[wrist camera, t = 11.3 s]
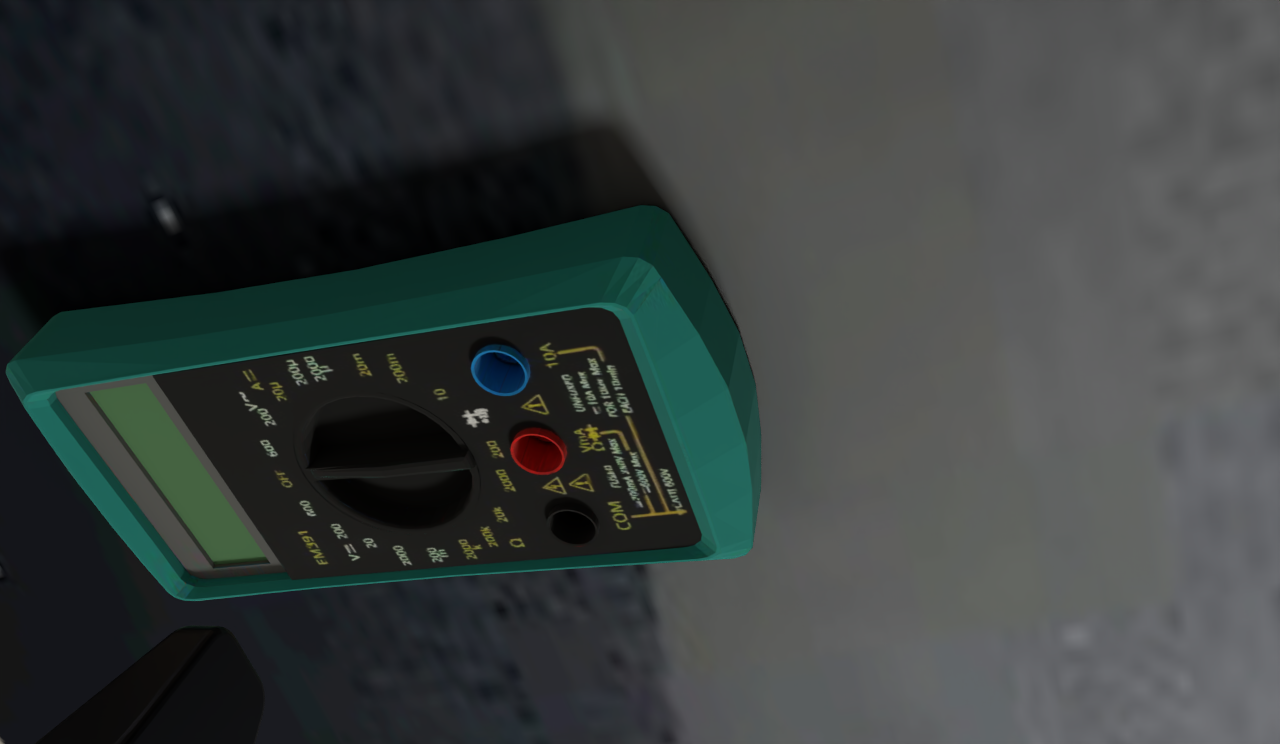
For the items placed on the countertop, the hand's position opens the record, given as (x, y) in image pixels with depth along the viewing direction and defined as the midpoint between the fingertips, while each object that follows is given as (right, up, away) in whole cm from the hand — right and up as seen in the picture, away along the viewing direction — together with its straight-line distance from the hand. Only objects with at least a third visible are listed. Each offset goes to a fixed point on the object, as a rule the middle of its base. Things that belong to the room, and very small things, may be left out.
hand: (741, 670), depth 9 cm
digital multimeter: (-6, +2, +16) cm, 17 cm away
